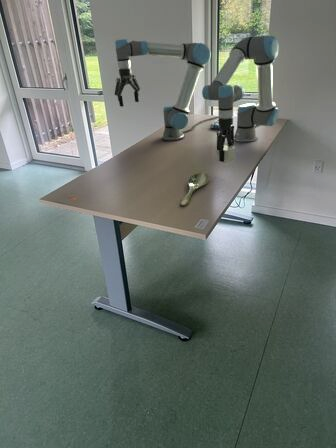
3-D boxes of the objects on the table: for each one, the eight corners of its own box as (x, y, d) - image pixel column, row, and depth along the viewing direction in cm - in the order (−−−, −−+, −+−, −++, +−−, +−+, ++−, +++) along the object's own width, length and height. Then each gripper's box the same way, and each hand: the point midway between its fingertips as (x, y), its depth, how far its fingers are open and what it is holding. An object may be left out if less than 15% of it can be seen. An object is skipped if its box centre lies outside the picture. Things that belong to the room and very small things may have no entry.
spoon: (193, 209, 156) (193, 205, 155) (172, 207, 159) (171, 203, 158) (212, 175, 182) (212, 172, 181) (193, 174, 186) (193, 170, 184)
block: (222, 157, 192) (222, 144, 188) (234, 159, 187) (235, 147, 183) (216, 161, 188) (215, 148, 184) (228, 163, 183) (228, 150, 179)
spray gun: (235, 122, 269) (217, 122, 276) (235, 117, 267) (217, 117, 273) (227, 130, 254) (208, 130, 260) (227, 125, 252) (208, 124, 258)
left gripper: (135, 65, 214) (139, 99, 225) (105, 71, 199) (111, 107, 210) (143, 65, 210) (147, 100, 221) (113, 71, 195) (118, 108, 206)
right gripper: (229, 112, 183) (229, 152, 195) (208, 121, 171) (209, 163, 183) (241, 113, 178) (240, 154, 190) (221, 123, 166) (221, 166, 178)
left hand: (129, 104), depth 216 cm, fingers open, 13 cm apart
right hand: (225, 159), depth 187 cm, fingers closed on block, 7 cm apart
